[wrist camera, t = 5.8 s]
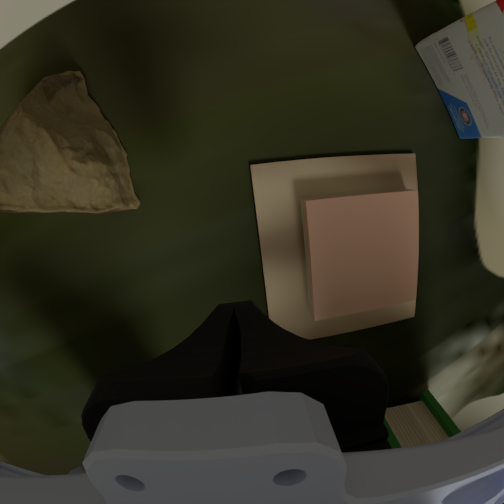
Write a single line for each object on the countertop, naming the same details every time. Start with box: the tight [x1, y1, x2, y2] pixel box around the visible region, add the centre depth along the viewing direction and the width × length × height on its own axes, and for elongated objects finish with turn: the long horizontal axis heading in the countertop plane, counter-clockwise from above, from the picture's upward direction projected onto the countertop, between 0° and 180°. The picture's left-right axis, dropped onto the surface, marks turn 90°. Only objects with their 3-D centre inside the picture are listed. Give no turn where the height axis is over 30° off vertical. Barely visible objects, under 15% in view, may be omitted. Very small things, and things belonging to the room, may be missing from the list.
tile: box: [300, 188, 419, 321], centre depth 20 cm, size 8×2×8 cm
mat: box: [250, 154, 418, 340], centre depth 21 cm, size 13×12×1 cm
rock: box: [0, 71, 140, 214], centre depth 15 cm, size 11×9×10 cm
